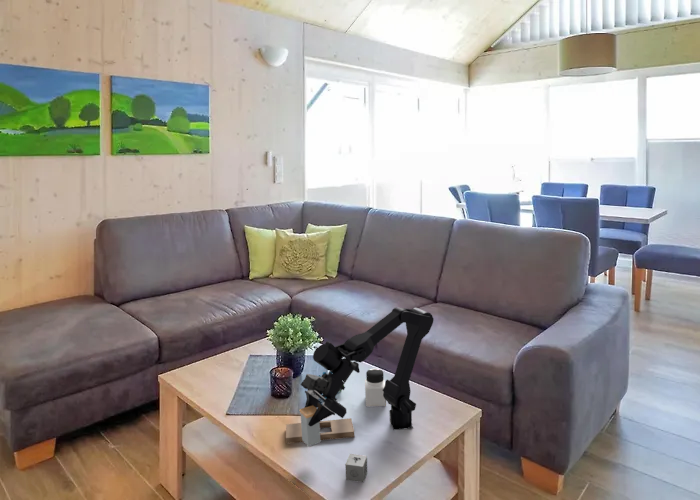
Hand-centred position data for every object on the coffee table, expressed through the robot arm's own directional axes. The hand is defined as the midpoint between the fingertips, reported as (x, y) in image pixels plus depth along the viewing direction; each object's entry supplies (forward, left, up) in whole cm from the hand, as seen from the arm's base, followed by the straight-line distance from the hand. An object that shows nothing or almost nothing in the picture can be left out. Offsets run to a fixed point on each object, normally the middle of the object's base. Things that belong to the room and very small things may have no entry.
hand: (306, 422), depth 153 cm
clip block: (-1, -1, -7) cm, 7 cm away
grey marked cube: (-13, +9, -13) cm, 21 cm away
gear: (-10, -39, -13) cm, 42 cm away
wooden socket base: (-4, -14, -12) cm, 19 cm away
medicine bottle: (-25, -31, -13) cm, 42 cm away
